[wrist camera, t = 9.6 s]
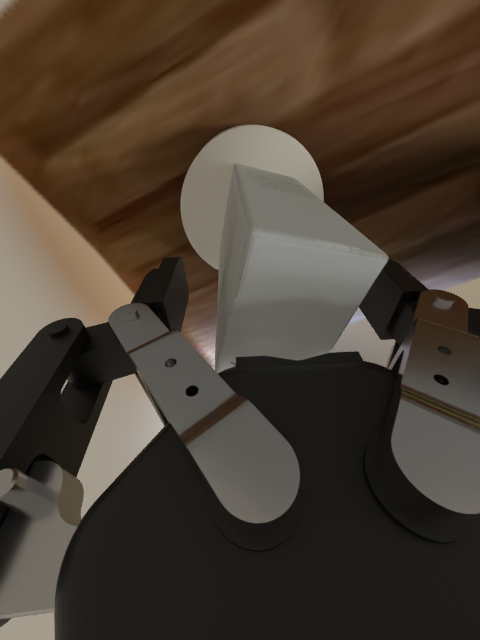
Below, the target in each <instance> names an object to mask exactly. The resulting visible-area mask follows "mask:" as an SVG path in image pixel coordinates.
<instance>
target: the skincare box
mask: <svg viewBox="0 0 480 640" xmlns="http://www.w3.org/2000/svg"><path fill="white" fill-rule="evenodd" d="M388 259H389V258H388V256H387V255H386V253H384V252H383V251H382V250H381V249H380V248H378V247H377V246H376V245H375V244H374V243H373V242H371V241H370V240H369V239H368V238H366V237H365V236H364V235H363V234H362V233H360V232H359V231H358V230H357V229H356V228H354V227H353V226H352V225H351V224H350V223H348V222H347V221H346V220H345V219H343V218H342V217H341V216H340V215H339V214H337V213H336V212H335V211H334V210H332V209H331V208H330V207H329V206H328V205H327V204H325V203H324V202H323V201H322V200H321V199H319V198H318V197H317V196H316V195H315V194H313V193H312V192H311V191H310V190H309V189H307V188H306V187H305V186H304V185H303V184H301V183H300V182H299V181H298V180H297V179H295V178H293V177H289V176H285V175H281V174H277V173H273V172H269V171H266V170H262V169H258V168H254V167H250V166H246V165H242V164H237V163H235V164H234V166H233V171H232V177H231V183H230V188H229V194H228V200H227V206H226V212H225V219H224V225H223V232H222V239H221V245H220V251H219V279H218V304H217V329H216V350H215V372H216V373H219V372H221V371H223V370H226V369H228V368H231V367H235V366H236V357H248V356H271V357H278V358H284V359H291V360H303V359H307V358H311V357H315V356H318V355H322V354H326V353H330V352H331V350H332V348H333V347H334V345H335V344H336V342H337V340H338V339H339V337H340V336H341V334H342V332H343V331H344V329H345V328H346V326H347V324H348V323H349V321H350V320H351V318H352V316H353V315H354V313H355V311H356V310H357V308H358V307H359V305H360V304H361V302H362V300H363V299H364V297H365V296H366V294H367V292H368V291H369V289H370V288H371V286H372V284H373V283H374V281H375V280H376V278H377V277H378V275H379V274H380V272H381V270H382V269H383V267H384V266H385V265H386V263H387V261H388Z"/></svg>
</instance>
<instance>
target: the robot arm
mask: <svg viewBox="0 0 480 640" xmlns="http://www.w3.org/2000/svg"><path fill="white" fill-rule="evenodd" d="M142 282H143V283H141V285H140V288H139V289H138V291H137V292H136V294H135V296H134V298H133V300H132V302H131V304H127V305H124V306H122V307H120V308H118V309H116V310H115V311H114V312H112V313H111V315H110V316H109V319H108V320H109V321H108V322H107V323H103V324H99V325H95V326H91V327H87V328H85V326H84V325H83V323H82V321H81V320H79V319H76V318H66V319H61V320H58V321H55V322H53V323H50V324H49V325H47V326H45V327H44V328H43V329H41V330H40V331H39V332H38V333H37V334H36V336H35V337H34V338H33V340H32V341H31V342H30V343H29V344H28V346H27V347H26V348H25V349H24V350H23V352H22V353H21V354H20V355H19V357H18V358H17V359H16V360H15V362H14V363H13V364H12V365H11V367H10V368H9V369H8V370H7V372H6V373H5V374H4V375H3V376H2V378H1V379H0V627H1V626H3V625H4V624H5V623H7V622H8V621H9V620H10V619H11V618H14V617H21V616H28V615H37V614H44V613H51V612H55V615H54V618H55V640H480V309H474V308H468V304H467V303H466V302H465V301H464V300H463V299H462V298H460V297H459V296H457V295H455V294H452V293H449V292H446V291H442V290H428V289H427V288H426V287H425V286H424V285H423V284H422V283H420V282H419V281H418V280H417V279H416V278H415V277H414V276H412V275H411V274H410V273H409V272H408V271H406V269H404V268H403V267H402V266H401V265H400V264H399V263H397V262H394V261H392V260H390V259H388V261H387V263H386V265H385V266H384V267H383V269H382V270H381V272H380V274H379V275H378V277H377V278H376V280H375V281H374V283H373V284H372V286H371V288H370V289H369V291H368V292H367V294H366V296H365V297H364V299H363V300H362V302H361V304H360V305H359V308H360V309H361V311H362V312H363V314H364V315H365V317H366V318H367V320H368V321H369V323H370V324H371V326H372V327H373V329H374V330H375V332H376V333H377V335H378V336H379V338H380V339H381V340H386V339H395V343H394V345H393V347H392V349H391V353H390V355H389V358H388V362H387V364H386V367H383V366H381V365H377V364H374V363H370V362H366V361H363V360H362V358H361V356H360V354H359V352H337V353H326V354H322V355H318V356H315V357H311V358H307V359H303V360H291V359H284V358H278V357H271V356H248V357H236V366H235V367H231V368H228V369H226V370H223V371H221V372H219V373H216V372H215V370H214V369H213V368H212V367H211V366H210V365H209V364H208V363H207V362H206V361H205V360H204V358H203V357H202V356H201V355H200V354H199V353H198V352H197V351H196V350H195V349H194V348H193V347H192V345H191V344H190V343H189V342H188V341H187V340H186V339H185V338H184V337H183V336H182V335H181V333H180V332H181V328H182V324H183V320H184V315H185V311H186V307H187V303H188V297H189V292H188V285H187V280H186V275H185V270H184V265H183V261H182V258H181V257H172V258H164V259H163V261H162V263H161V265H160V267H159V269H153V270H152V271H150V272H149V273H148V274H147V275H146V276H145V278H144V279H143V281H142ZM134 373H135V375H136V377H137V378H138V380H139V382H140V384H141V386H142V387H143V389H144V391H145V392H146V394H147V396H148V398H149V399H150V401H151V403H152V404H153V406H154V408H155V410H156V412H157V413H158V415H159V417H160V419H161V421H162V422H163V424H164V426H165V427H164V428H163V429H162V430H161V431H160V432H159V433H158V434H157V435H156V436H155V437H154V438H153V439H152V441H151V442H150V443H149V444H148V445H147V446H146V447H145V448H144V449H143V450H142V452H141V453H140V454H139V455H138V456H137V457H136V458H135V459H134V460H133V461H132V462H131V463H130V464H129V465H128V466H127V468H126V469H125V470H124V471H123V472H122V473H121V474H120V475H119V476H118V477H117V478H116V479H115V481H114V482H113V483H112V484H111V485H110V486H109V487H108V488H107V489H106V490H105V491H104V492H103V494H102V495H101V496H100V497H99V498H98V499H97V500H96V501H95V502H94V504H93V505H92V506H91V507H90V509H89V510H88V511H87V513H86V514H85V516H84V517H83V518H82V520H81V506H82V502H83V495H84V491H83V486H82V483H81V482H80V481H79V480H78V479H77V478H76V477H77V474H78V471H79V469H80V466H81V463H82V461H83V458H84V455H85V453H86V450H87V447H88V445H89V442H90V439H91V437H92V434H93V431H94V429H95V426H96V423H97V421H98V418H99V415H100V413H101V410H102V408H103V405H104V402H105V400H106V397H107V394H108V392H109V389H110V387H111V384H112V381H113V380H115V379H118V378H121V377H124V376H128V375H131V374H134ZM66 380H68V382H67V384H66V386H65V388H64V390H63V391H62V393H61V389H62V387H63V385H64V383H65V381H66ZM60 394H61V395H60Z"/></svg>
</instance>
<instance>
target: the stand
mask: <svg viewBox="0 0 480 640" xmlns="http://www.w3.org/2000/svg"><path fill="white" fill-rule="evenodd" d="M235 163H237V164H242V165H246V166H250V167H254V168H258V169H262V170H266V171H269V172H273V173H277V174H281V175H285V176H289V177H293V178H295V179H297V180H298V181H299V182H300V183H301V184H303V185H304V186H305V187H306V188H307V189H309V190H310V191H311V192H312V193H313V194H315V195H316V196H317V197H318V198H319V199H321V200H322V201H323V202H324V192H323V185H322V180H321V176H320V173H319V170H318V168H317V166H316V163H315V162H314V160H313V158H312V157H311V155H310V154H309V152H308V151H307V150H306V149H305V148H304V147H303V145H301V144H300V143H299V142H298V141H297V140H296V139H294V138H293V137H291V136H290V135H288V134H286V133H285V132H282V131H280V130H277V129H274V128H271V127H268V126H263V125H259V124H242V125H237V126H233V127H230V128H228V129H226V130H224V131H222V132H220V133H219V134H217V135H216V136H214V137H213V138H212V139H211V140H210V141H209V142H208V143H207V144H206V145H205V146H204V147H203V149H202V150H201V151H200V152H199V154H198V155H197V156H196V158H195V159H194V161H193V163H192V164H191V166H190V168H189V170H188V172H187V175H186V177H185V180H184V183H183V187H182V193H181V218H182V223H183V227H184V230H185V233H186V235H187V238H188V240H189V241H190V243H191V245H192V247H193V248H194V249H195V251H196V252H197V253H198V255H199V256H200V257H201V258H202V259H203V260H204V261H206V262H207V263H208V264H209V265H211V266H212V267H214V268H215V269H217V270H219V251H220V245H221V239H222V232H223V225H224V219H225V212H226V206H227V200H228V194H229V188H230V183H231V177H232V171H233V166H234V164H235Z"/></svg>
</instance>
